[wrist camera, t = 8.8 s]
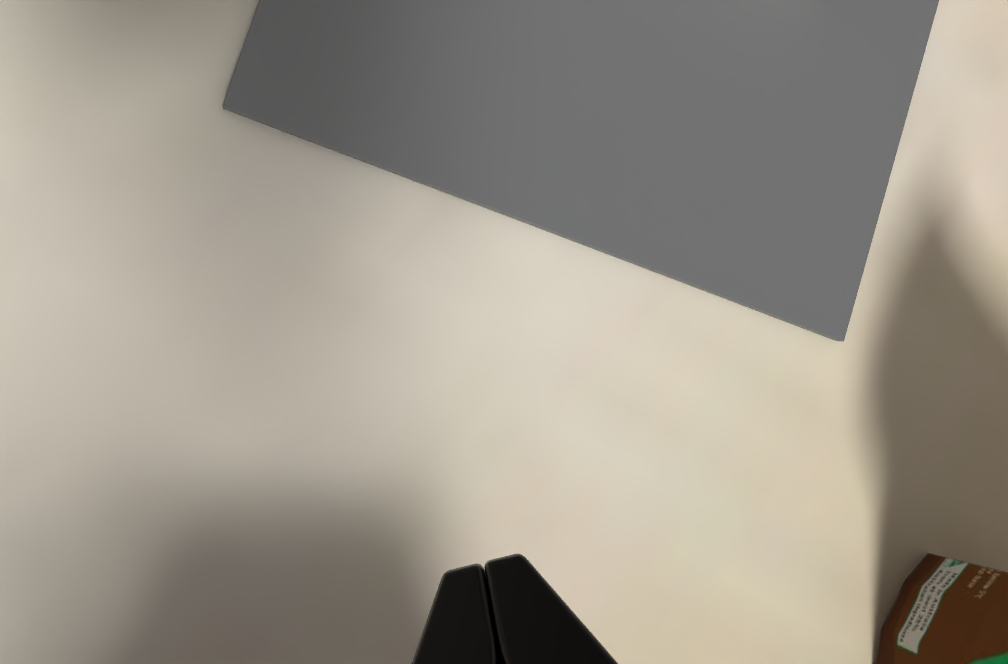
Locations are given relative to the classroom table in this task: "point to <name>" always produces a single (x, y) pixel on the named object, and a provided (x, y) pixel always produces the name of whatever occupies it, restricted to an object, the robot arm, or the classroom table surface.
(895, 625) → the food container
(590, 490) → the classroom table surface
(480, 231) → the classroom table surface
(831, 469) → the classroom table surface
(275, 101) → the felt mat
